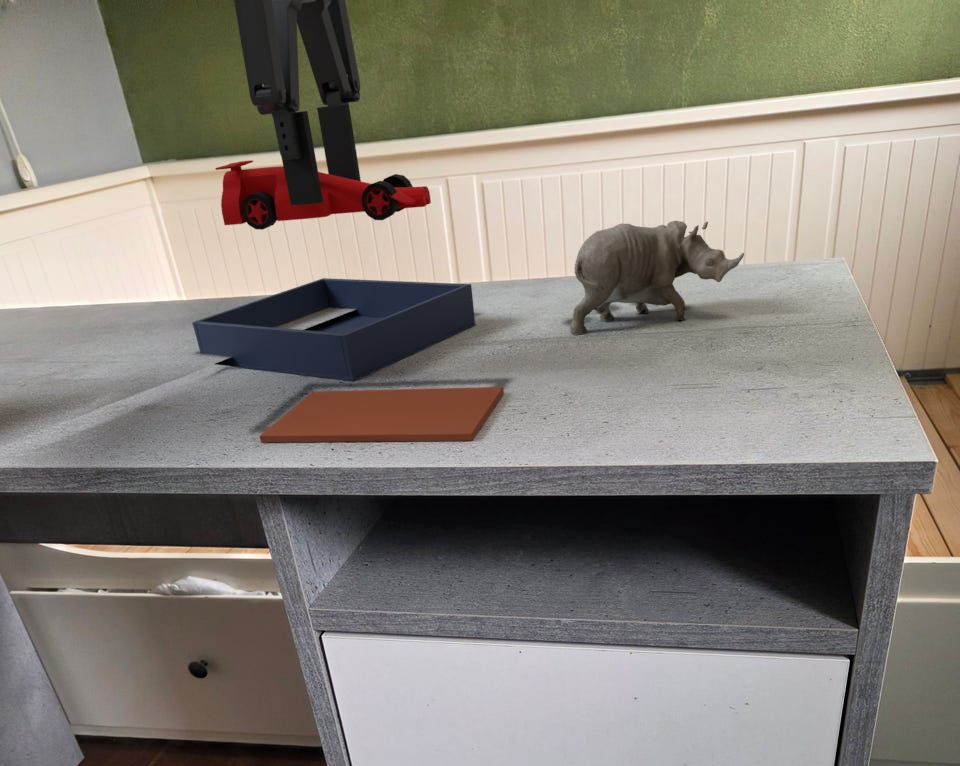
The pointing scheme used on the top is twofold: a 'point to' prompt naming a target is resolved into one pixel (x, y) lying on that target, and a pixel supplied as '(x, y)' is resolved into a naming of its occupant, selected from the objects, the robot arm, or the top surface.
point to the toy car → (267, 201)
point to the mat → (386, 415)
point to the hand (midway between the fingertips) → (327, 196)
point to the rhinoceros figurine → (642, 268)
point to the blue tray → (338, 327)
